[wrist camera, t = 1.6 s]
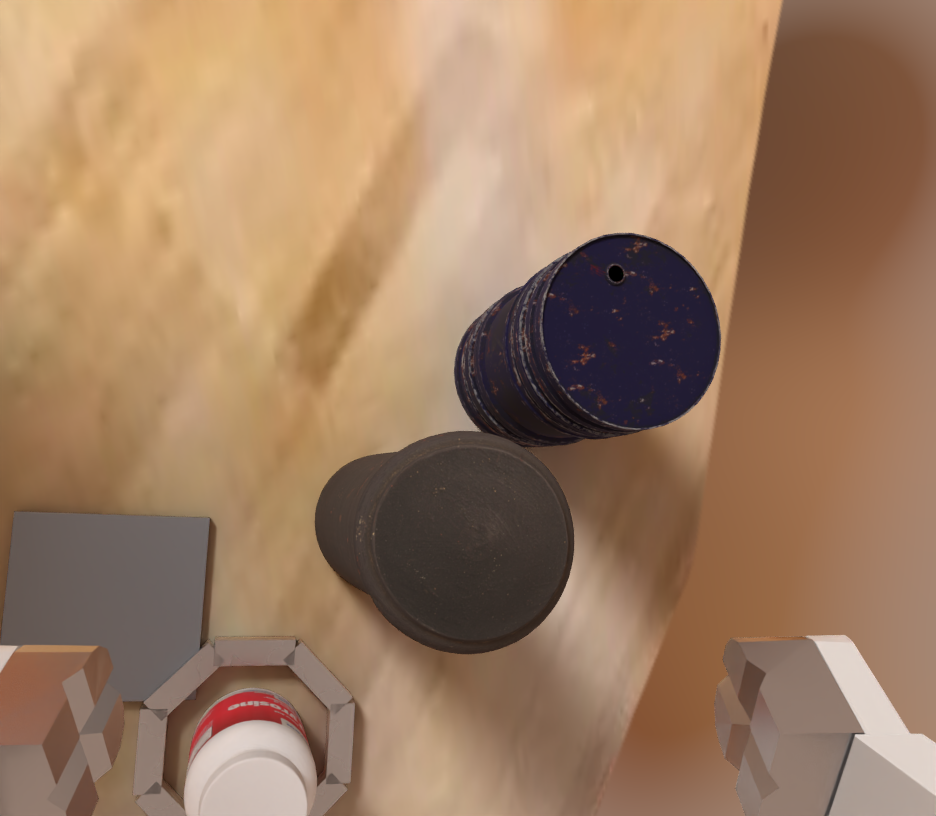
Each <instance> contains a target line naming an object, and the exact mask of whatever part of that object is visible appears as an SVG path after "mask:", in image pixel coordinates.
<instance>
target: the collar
mask: <svg viewBox="0 0 936 816" xmlns="http://www.w3.org/2000/svg"><path fill="white" fill-rule="evenodd" d="M267 665H288V666H289V667H290V668H291V669H292V671H293V672H294V673H295V674H296V675H297V676H298V677H299V678H300V679H301V680H302V681H303V682H304V683H305V684H306V685H307V686H308V688H309V689H310V690H311V691H312V692H313V693H314V694H315V695H316V696H317V697H318V698H319V699H320V700H321V701H322V702H323V704H324V705H325V706H326V707H327V708H328V710H327V726H326V743H325V760H324V771H323V772H322V773H321V774H320V775H319V776H318V777H317V789H316V795H315V800H314V803H313V806H312V809H311V811H310V813H309V815H308V816H323V815H324V814H325V813H326V812H327V811H328V810H329V809H330V808H331V807H332V806H333V805H334V804H335V802H336V801H337V800H338V799H339V798H340V797H341V796H342V795H343V794H344V793H345V792H346V791H347V790H348V789H347V786H346V784H345V783H351V767H352V749H353V731H354V713H355V702H354V701H353V699H352V698H353V696H352V695H351V693H350V692H349V691H348V690H347V689H346V688H345V686H344V685H343V684H342V683H341V682H340V681H339V680H338V679H337V678H336V677H335V676H334V675H333V674H332V673H331V671H330V670H329V669H328V668H327V667H326V666H325V665H324V664H323V663H322V662H321V661H320V660H319V659H318V658H317V656H316V655H315V654H314V653H313V652H312V651H311V650H310V649H309V648H308V647H307V646H306V645H305V644H304V643H303V641H302V640H301V639H299V640H298V641H297V642H296V639H295V637H294V636H260V637H215V645H214V644H213V643H212V642H211V641H210V640H208V641H206V642H205V643H204V644H203V645H202V646H201V647H200V649H199V650H198V651H197V652H196V653H195V654H194V655H193V656H192V657H191V658H190V659H189V660H188V661H186V662H185V663H184V664H183V665H182V666H181V667H180V668H179V669H178V670H177V671H176V672H174V673H173V674H172V675H171V676H170V677H169V678H168V679H167V680H166V681H165V682H164V683H162V684H161V685H160V686H159V687H158V688H157V689H156V690H155V691H154V692H153V693H152V694H150V695H149V696H148V697H147V698H146V699H145V700H144V702H143V703H144V704H142V706H141V708H140V716H139V728H138V739H137V751H136V763H135V774H134V786H133V795H137V797H136V800H135V803H136V804H137V805H138V806H139V807H140V808H141V809H142V810H143V811H144V812H145V813H146V814H147V815H148V816H186V812H185V806H184V800H183V799H182V798H181V797H180V796H179V795H178V794H177V793H176V792H175V791H174V790H173V789H172V788H171V787H170V786H169V785H168V784H167V783H166V782H165V781H164V780H163V772H164V760H165V748H166V735H167V723H168V714H170V713H171V712H172V711H173V710H174V709H175V708H176V707H177V706H178V705H179V704H180V703H181V702H182V701H183V700H185V699H186V698H187V697H188V696H189V695H190V694H191V693H192V692H193V691H194V690H195V689H196V688H197V687H198V686H200V685H201V684H202V683H203V682H204V681H205V680H206V679H207V678H208V677H209V676H210V675H211V674H212V673H213V672H215V671H216V670H217V669H218V668H219V667H220V666H267Z"/></svg>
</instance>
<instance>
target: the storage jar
mask: <svg viewBox="0 0 936 816" xmlns="http://www.w3.org/2000/svg"><path fill="white" fill-rule="evenodd" d="M720 346H721V332H720V322H719V317H718V313H717V309H716V305H715V303H714V300H713V298H712V295H711V293H710V291H709V289H708V287H707V285H706V283H705V282H704V280H703V278H702V277H701V276H700V274H699V273H698V272H697V270H696V269H695V268H694V266H693V265H692V264H691V263H690V262H689V261H688V260H687V259H686V258H685V257H684V256H682V255H681V254H680V253H678V252H677V251H676V250H674V249H673V248H672V247H670V246H668V245H666V244H664V243H663V242H661V241H659V240H656V239H653V238H651V237H648V236H644V235H639V234H634V233H614V234H608V235H603V236H600V237H597V238H594V239H591V240H589V241H588V242H586V243H584V244H582V245H580V246H579V247H577V248H576V249H574V250H573V251H572V252H569V253H567V254H565V255H563V256H562V257H560V258H558V259H556V260H555V261H553V262H552V263H551V264H549V265H548V266H547V267H545V268H543V269H542V270H540V271H539V272H538V273H536V274H535V275H534V276H533V277H531V278H530V279H529V280H528V282H527V283H526V284H525V285H524V286H521V287H519V288H516V289H514V290H513V291H511V292H509V293H507V294H506V295H505V296H504V297H502V298H501V299H500V300H498V301H497V302H496V303H494V304H493V305H492V306H491V307H489V308H488V309H487V310H486V311H485V312H484V313H483V314H482V315H481V316H480V317H478V318H477V319H476V320H475V321H474V322H473V323H472V324H471V325H470V327H469V328H468V329H467V331H466V332H465V334H464V336H463V337H462V339H461V342H460V344H459V346H458V349H457V353H456V358H455V367H454V376H455V385H456V389H457V394H458V396H459V399H460V401H461V404H462V406H463V408H464V410H465V411H466V413H467V415H468V416H469V417H470V419H471V420H472V421H473V422H474V424H475V425H476V426H477V427H479V428H480V429H481V430H482V431H483V432H484V433H489V434H493V435H496V436H499V437H502V438H505V439H508V440H510V441H512V442H514V443H516V444H518V445H519V446H521V447H547V446H556V445H567V444H571V443H576V442H578V441H581V440H583V439H585V438H586V439H606V438H610V437H616V436H623V435H628V434H632V433H636V432H639V431H641V430H647V429H652V428H656V427H660V426H664V425H667V424H669V423H671V422H673V421H676V420H677V419H679V418H680V417H682V416H683V415H685V414H686V413H688V412H689V411H690V410H691V409H692V408H693V407H694V406H695V405H696V404H697V403H698V402H699V401H700V399H701V398H702V397H703V395H704V394H705V393H706V391H707V390H708V388H709V386H710V384H711V382H712V380H713V378H714V375H715V372H716V369H717V366H718V361H719V355H720Z"/></svg>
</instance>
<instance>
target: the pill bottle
mask: <svg viewBox="0 0 936 816" xmlns="http://www.w3.org/2000/svg"><path fill="white" fill-rule="evenodd" d="M316 789H317V774H316V767H315V762H314V759H313V756H312V753H311V750H310V746H309V743H308V740H307V737H306V734H305V731H304V728H303V725H302V722H301V719H300V717H299V715H298V713H297V711H296V710H295V708H294V707H293V706H292V705H291V704H290V702H289V701H287V700H286V699H285V698H284V697H282V696H280V695H279V694H277V693H275V692H273V691H270V690H266V689H261V688H245V689H240V690H236V691H233V692H231V693H229V694H227V695H225V696H223V697H221V698H220V699H218V700H217V701H216V702H215V703H214V704H212V705H211V706H210V707H209V708H208V709H207V711H206V712H205V713H204V714H203V716H202V717H201V719H200V721H199V722H198V724H197V727H196V729H195V732H194V735H193V738H192V743H191V748H190V754H189V761H188V768H187V774H186V780H185V786H184V806H185V812H186V816H308V815H309V813H310V811H311V809H312V806H313V803H314V800H315V795H316Z"/></svg>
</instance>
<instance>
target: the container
mask: <svg viewBox="0 0 936 816" xmlns="http://www.w3.org/2000/svg"><path fill="white" fill-rule="evenodd" d="M315 531H316V536H317V541H318V544H319V547H320V549H321V551H322V554H323V555H324V557H325V559H326V560H327V562H328V563H329V565H330V566H331V567H332V568H333V569H334V570H335V571H336V572H337V573H338V574H339V575H340V576H341V577H342V578H343V579H345V580H346V581H347V582H349V583H350V584H352V585H353V586H355V587H356V588H358V589H360V590H362V591H364V592H365V593H367V594H369V595H370V596H371V597H372V599H373V602H374V603H375V605H376V607H377V608H378V610H379V611H380V612H381V613H382V614H383V616H384V617H385V618H386V619H387V620H388V621H389V622H390V623H391V624H392V625H393V626H395V627H396V628H397V629H398V630H400V631H401V632H402V633H404V634H405V635H407V636H408V637H410V638H412V639H413V640H415V641H417V642H419V643H421V644H423V645H426V646H428V647H431V648H433V649H436V650H440V651H444V652H449V653H457V654H477V653H485V652H489V651H494V650H497V649H500V648H503V647H506V646H508V645H510V644H513V643H515V642H517V641H519V640H520V639H522V638H523V637H525V636H526V635H528V634H529V633H530V632H532V631H533V630H534V629H535V628H537V627H538V626H539V625H540V624H541V623H542V622H543V621H544V619H545V618H546V617H547V616H548V615H549V614H550V612H551V611H552V610H553V608H554V607H555V605H556V604H557V602H558V601H559V599H560V597H561V595H562V593H563V591H564V588H565V586H566V583H567V581H568V578H569V575H570V571H571V566H572V562H573V555H574V529H573V523H572V517H571V513H570V509H569V506H568V503H567V501H566V498H565V495H564V493H563V491H562V489H561V488H560V486H559V484H558V482H557V481H556V479H555V478H554V476H553V475H552V473H551V472H550V471H549V470H548V468H547V467H546V466H545V465H544V464H543V463H542V462H541V461H540V460H539V459H538V458H536V457H535V456H534V455H533V454H532V453H530V452H529V451H527V450H526V449H524V448H523V447H521V446H519V445H518V444H516V443H514V442H512V441H510V440H508V439H505V438H502V437H499V436H496V435H493V434H489V433H483V432H475V431H456V432H448V433H442V434H438V435H435V436H430V437H427V438H425V439H422V440H419V441H417V442H415V443H412V444H410V445H409V446H407V447H405V448H404V449H402V450H400V451H399V452H393V453H383V454H376V455H370V456H366V457H363V458H360V459H357V460H354V461H352V462H350V463H348V464H347V465H345V466H343V467H342V468H341V469H339V470H338V471H337V472H336V473H335V474H334V475H333V476H332V477H331V479H330V480H329V481H328V482H327V484H326V485H325V487H324V488H323V490H322V492H321V495H320V497H319V500H318V503H317V507H316V513H315Z"/></svg>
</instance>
